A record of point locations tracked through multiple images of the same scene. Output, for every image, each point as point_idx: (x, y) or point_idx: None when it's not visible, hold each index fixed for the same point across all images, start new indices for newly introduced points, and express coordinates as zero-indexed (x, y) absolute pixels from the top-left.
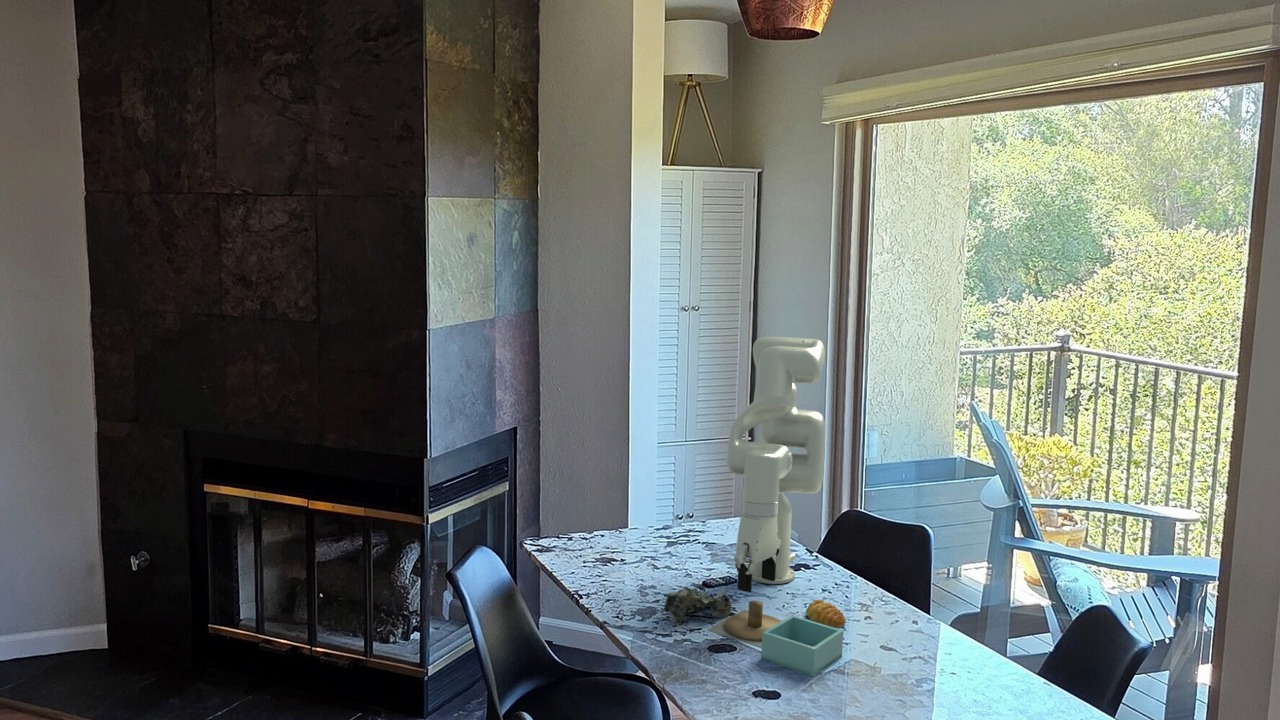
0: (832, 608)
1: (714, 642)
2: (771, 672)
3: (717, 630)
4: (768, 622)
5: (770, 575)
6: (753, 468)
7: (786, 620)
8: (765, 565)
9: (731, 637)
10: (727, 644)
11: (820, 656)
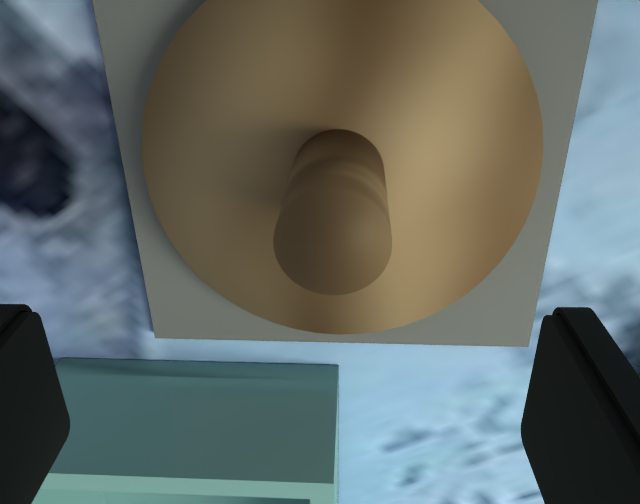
0: None
1: (6, 69)
2: None
3: None
4: (431, 217)
5: (541, 453)
6: None
7: (233, 492)
8: (604, 492)
9: (119, 129)
10: (54, 145)
11: None
